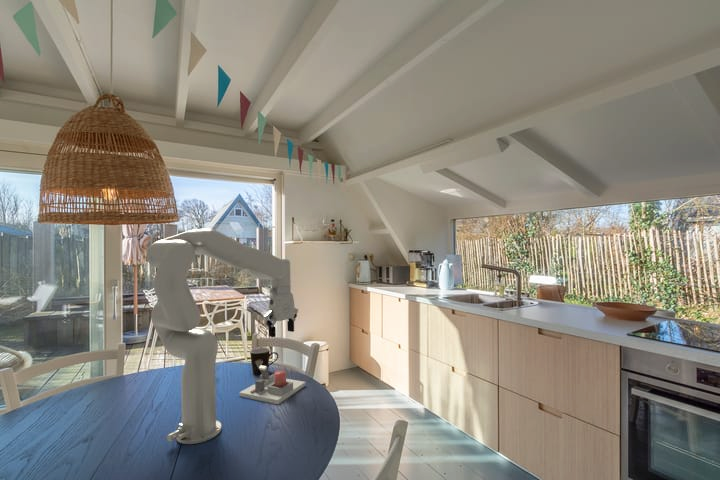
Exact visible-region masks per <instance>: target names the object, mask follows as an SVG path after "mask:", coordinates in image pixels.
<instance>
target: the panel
mask: <svg viewBox="0 0 720 480" xmlns="http://www.w3.org/2000/svg"><path fill="white" fill-rule="evenodd" d="M259 379H262V380H264V384H265V390H263V391H261V392H255V383H254V384H252V385H251V386H248V387H247V388H245V389H243V390H241V391H239V395H238V396H239V397H241V398H246V399H251V400H255V401H260V402H264V403H270V404H275V405H279V404H280V403H282V402H283V401H285V400H287V399H288V398H289V397H291V396H292V395H294V394H296V393H297V392H298V391H300V390H301V389H303V388H304V387H306V381H303V380H302V381H301V380H296V379H291V378H286V385H285V386H281V387H277V386H275V380H274V373H273V374H271V375H270V376H269V377H268V380H267V379H264V378H263V376H262V374H261V375H259Z"/></svg>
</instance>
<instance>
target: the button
mask: <svg viewBox="0 0 720 480" xmlns="http://www.w3.org/2000/svg"><path fill="white" fill-rule="evenodd" d="M273 374H274V380H275V386H277V387H281V386H285V385H286V379H287V371H286V370H276V371H274V373H273Z"/></svg>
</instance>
